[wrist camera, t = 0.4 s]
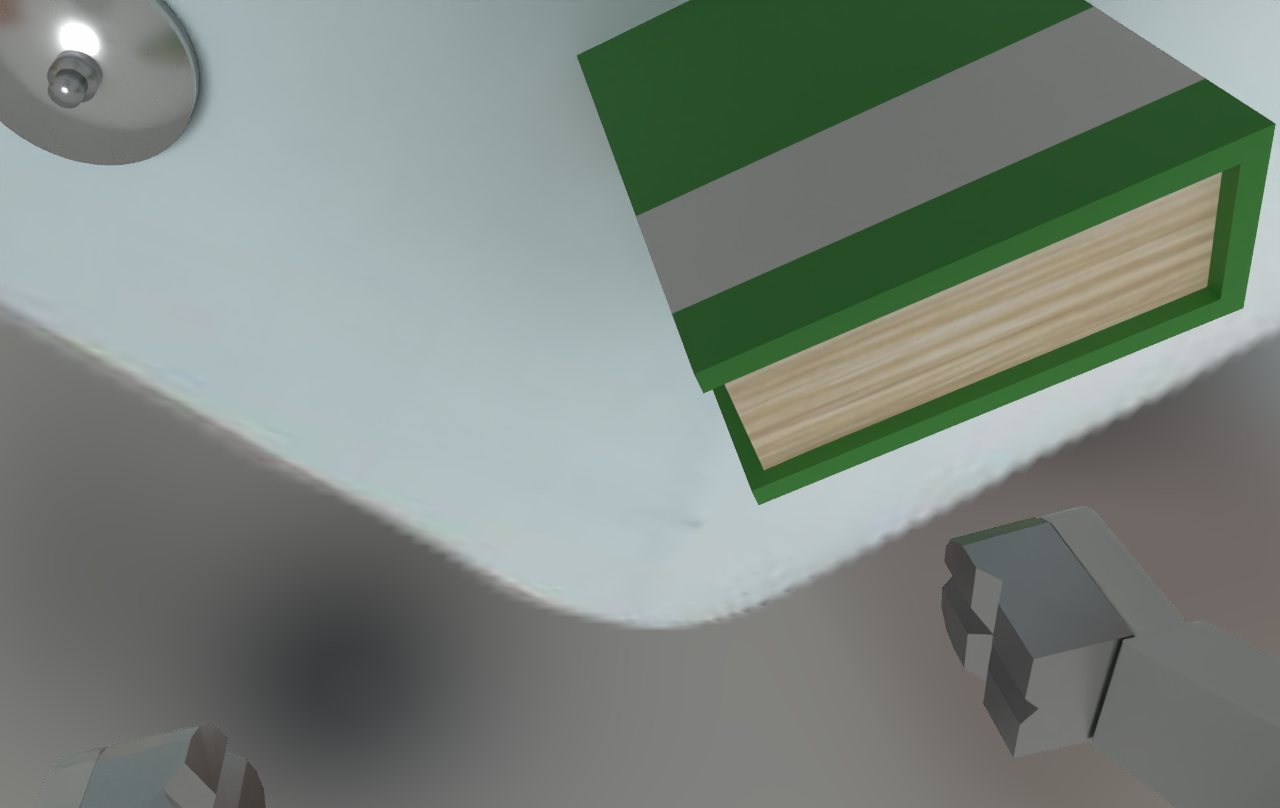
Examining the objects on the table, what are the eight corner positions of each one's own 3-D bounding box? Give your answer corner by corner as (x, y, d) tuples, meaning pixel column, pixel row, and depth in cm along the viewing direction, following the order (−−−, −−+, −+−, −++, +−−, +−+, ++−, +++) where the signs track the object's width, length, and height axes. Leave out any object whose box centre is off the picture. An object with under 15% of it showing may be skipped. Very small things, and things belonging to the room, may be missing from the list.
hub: (-87, -29, 36) (-127, 6, 33) (134, -73, 36) (113, -42, 33) (46, 167, 42) (22, 210, 39) (233, 127, 43) (223, 167, 40)
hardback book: (631, 175, 49) (758, 504, 32) (576, 55, 44) (694, 374, 27) (934, 34, 47) (1243, 307, 30) (914, -110, 41) (1275, 123, 25)
